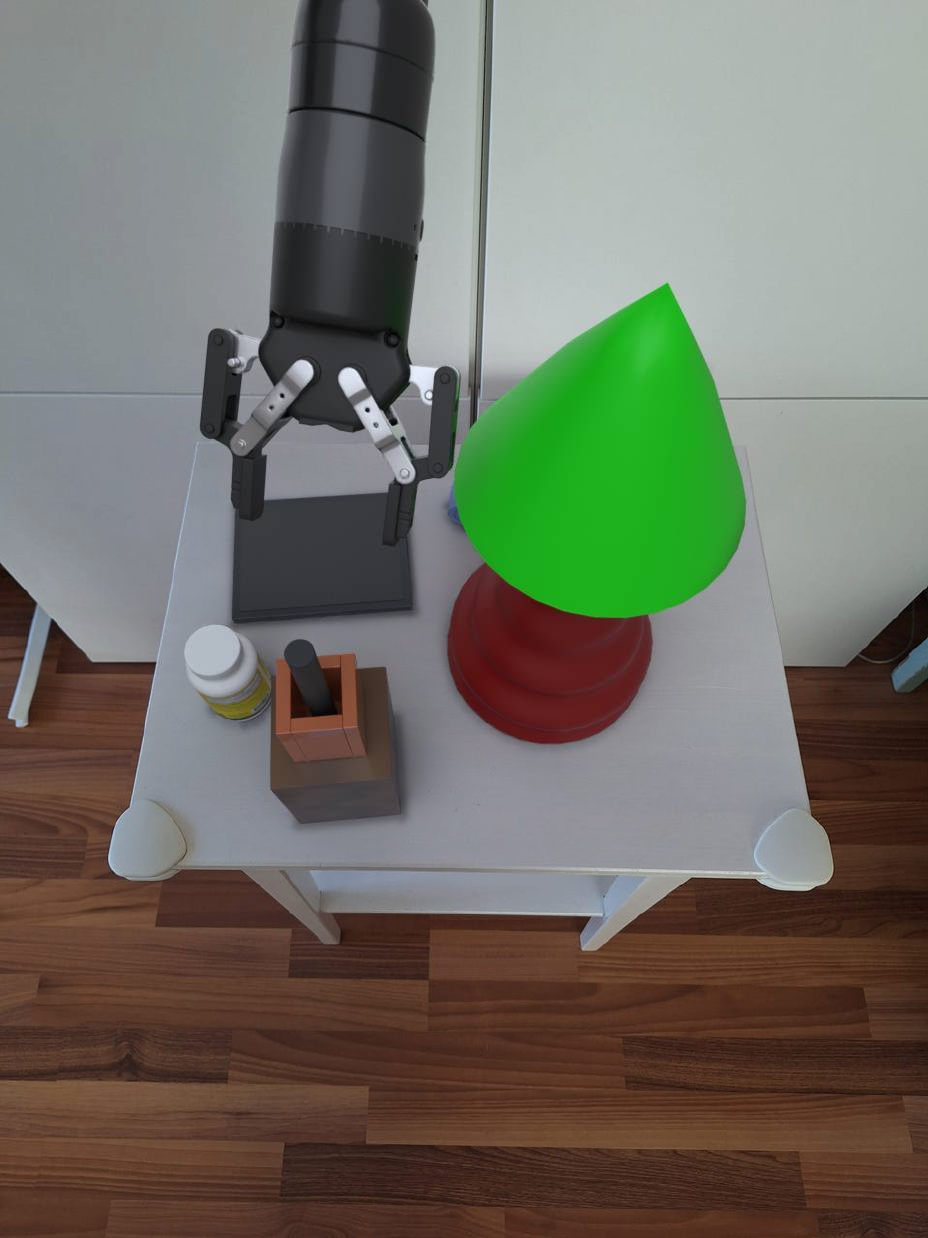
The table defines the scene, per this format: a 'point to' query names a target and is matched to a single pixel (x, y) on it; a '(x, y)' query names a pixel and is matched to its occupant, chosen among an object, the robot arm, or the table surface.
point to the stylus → (310, 677)
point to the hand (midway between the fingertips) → (321, 530)
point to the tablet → (318, 560)
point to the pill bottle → (227, 673)
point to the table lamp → (590, 522)
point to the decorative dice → (453, 507)
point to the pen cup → (322, 733)
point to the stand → (343, 766)
